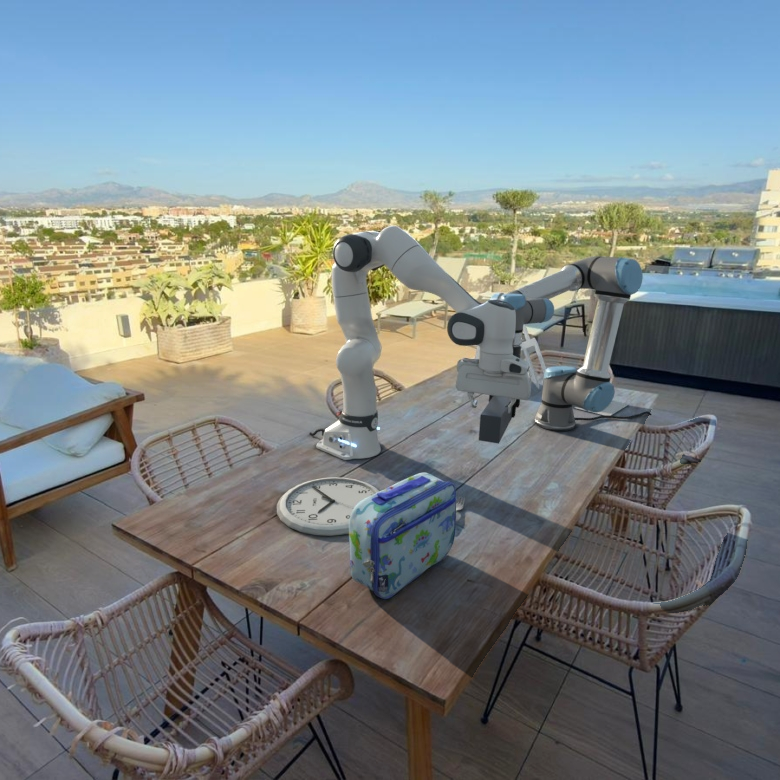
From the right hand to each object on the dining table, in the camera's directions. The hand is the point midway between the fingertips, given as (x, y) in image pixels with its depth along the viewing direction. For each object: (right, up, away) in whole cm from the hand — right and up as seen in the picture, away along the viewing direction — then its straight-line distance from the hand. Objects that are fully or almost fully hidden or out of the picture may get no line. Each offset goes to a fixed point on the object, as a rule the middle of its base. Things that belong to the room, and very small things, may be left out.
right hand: (503, 414), depth 169 cm
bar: (-4, -3, -9) cm, 10 cm away
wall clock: (-52, -24, -26) cm, 63 cm away
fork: (-20, -26, -31) cm, 44 cm away
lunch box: (-34, -32, -53) cm, 71 cm away
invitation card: (+55, +1, +57) cm, 79 cm away
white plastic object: (+20, +11, +89) cm, 92 cm away
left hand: (-9, +2, -24) cm, 26 cm away
